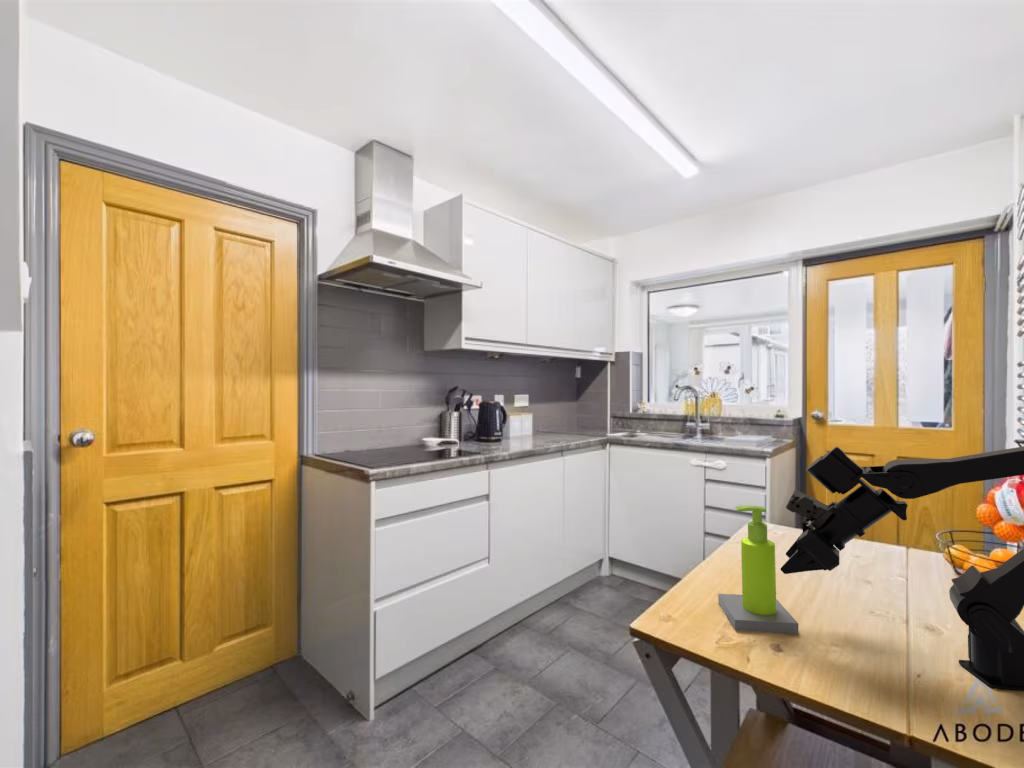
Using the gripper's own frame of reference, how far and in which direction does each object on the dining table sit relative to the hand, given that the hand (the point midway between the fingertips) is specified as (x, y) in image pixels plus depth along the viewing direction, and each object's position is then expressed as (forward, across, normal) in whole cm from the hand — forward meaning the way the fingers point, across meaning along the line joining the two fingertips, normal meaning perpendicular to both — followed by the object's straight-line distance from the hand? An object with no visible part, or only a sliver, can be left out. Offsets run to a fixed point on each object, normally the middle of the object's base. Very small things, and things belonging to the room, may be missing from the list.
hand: (785, 563), depth 88 cm
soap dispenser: (+11, 0, +3) cm, 11 cm away
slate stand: (+12, 0, +4) cm, 13 cm away
